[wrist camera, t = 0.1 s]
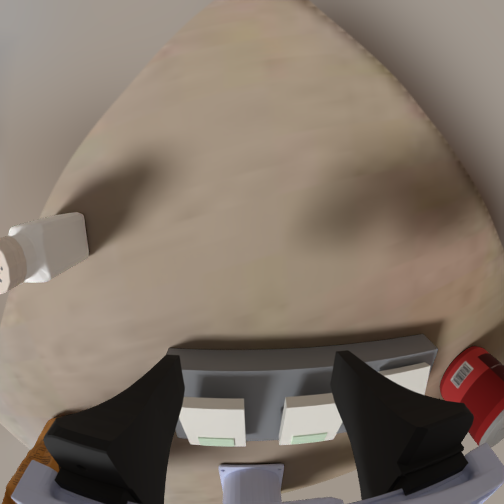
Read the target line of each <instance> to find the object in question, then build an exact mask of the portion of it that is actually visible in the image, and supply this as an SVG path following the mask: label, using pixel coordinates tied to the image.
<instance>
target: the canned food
mask: <svg viewBox="0 0 504 504" xmlns="http://www.w3.org/2000/svg"><path fill="white" fill-rule="evenodd" d="M440 392H441V395H442V397H443V399H444V400H445V401H452V402H459V403H464V404H465V405H466V407H467V408H468V409H469V410H470V411H471V413H472V414H473V416H474V420H473V424H472V426H471V428H470V430H469V431H468V432H469V433H470V435H471V436H472V438H473V439H474V440H475V442H476V443H477V444H478V446H481V445H482V444H484V443H488V445H489V446H490V447H493V446H494V445H496V444H497V443H498V442H500V441H501V440H502V439H503V438H504V365H502V364H501V363H500V362H499V361H498V360H497V359H496V358H494V357H493V356H492V355H491V354H490V353H488V352H487V351H486V350H485V349H483V348H481V347H478V346H473V347H470V348H468V349H466V350H465V351H463V352H462V353H461V354H459V355H458V356H457V357H456V358H455V359H454V360H453V362H452V363H451V364H450V365H449V367H448V368H447V370H446V372H445V373H444V375H443V378H442V380H441V384H440Z"/></svg>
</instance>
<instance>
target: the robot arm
mask: <svg viewBox="0 0 504 504" xmlns="http://www.w3.org/2000/svg"><path fill="white" fill-rule="evenodd" d="M330 386H331V390H332V395H333V398H334V402H335V405H336V407H337V409H338V412H339V414H340V417H341V419H342V422H343V424H344V427H345V429H346V431H347V434H348V437H349V439H350V442H351V446H352V450H353V454H354V458H355V463H356V467H357V472H358V478H359V484H360V490H361V497H362V500H361V501H357V502H353V503H349V504H483V502H485V501H486V500H487V499H488V498H489V497H490V496H491V495H492V494H493V493H494V492H495V491H496V490H497V489H498V488H499V487H500V486H501V485H502V484H503V483H504V465H503V464H502V463H501V461H500V460H499V459H498V457H497V456H496V454H495V453H494V452H493V450H492V449H491V447H490V446H489V445H488V443H484V444H482V445H481V446H479V447H477V448H475V449H473V450H472V451H470V452H469V453H468V454H466V455H465V456H464V455H463V454H462V451H463V450H464V447H463V446H462V444H461V442H462V441H463V439H464V437H465V436H466V434H467V433H468V431H469V430H470V428H471V426H472V424H473V420H474V416H473V414H472V413H471V411H470V410H469V409H468V408H467V407H466V405H465V404H464V403H459V402H452V401H445V400H440V399H436V398H432V397H429V396H425V395H423V394H420V393H417V392H414V391H412V390H409V389H407V388H405V387H403V386H401V385H399V384H397V383H395V382H393V381H391V380H390V379H388V378H387V377H385V376H383V375H382V374H380V373H379V372H377V371H376V370H374V369H373V368H371V367H370V366H369V365H367V364H366V363H365V362H363V361H362V360H361V359H359V358H358V357H357V356H355V355H354V354H353V353H351V352H350V351H348V350H345V351H336V353H335V359H334V365H333V371H332V377H331V382H330ZM184 392H185V385H184V380H183V374H182V368H181V362H180V356H179V355H168V354H167V355H166V356H165V357H163V358H162V359H161V360H160V361H159V362H158V363H157V364H156V365H155V366H154V367H153V368H152V369H151V370H149V371H148V372H147V373H146V374H145V375H144V376H143V377H142V378H140V379H139V380H138V381H137V382H135V383H134V384H133V385H131V386H130V387H129V388H127V389H126V390H125V391H123V392H121V393H120V394H118V395H117V396H115V397H113V398H111V399H109V400H107V401H105V402H103V403H101V404H99V405H97V406H95V407H92V408H90V409H87V410H84V411H81V412H78V413H75V414H71V415H67V416H62V417H57V418H56V419H55V421H54V422H53V424H52V425H51V427H50V428H49V430H48V431H47V433H46V434H45V436H44V439H43V441H44V444H45V447H46V448H47V450H48V452H49V453H50V454H51V456H52V457H53V458H54V460H55V461H56V462H57V464H58V465H59V466H60V467H61V468H60V470H59V472H58V473H57V472H56V471H55V470H54V469H52V468H50V467H48V466H46V465H43V464H41V463H39V462H37V461H35V460H31V462H30V464H29V465H28V467H27V469H26V471H25V472H24V474H23V476H22V477H21V479H20V481H19V483H18V485H17V486H16V488H15V490H14V492H13V494H12V495H11V498H12V499H13V500H14V501H15V502H16V503H17V504H164V493H165V481H166V473H167V465H168V458H169V452H170V446H171V442H172V439H173V435H174V432H175V429H176V425H177V422H178V419H179V415H180V412H181V409H182V405H183V399H184ZM283 471H284V464H263V465H219V473H220V478H221V484H222V489H223V504H344V503H343V500H341V499H337V498H333V497H324V498H314V499H306V500H298V501H288V502H282V500H281V491H280V490H281V484H282V478H283Z"/></svg>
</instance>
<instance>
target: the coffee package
mask: <svg viewBox="0 0 504 504" xmlns="http://www.w3.org/2000/svg"><path fill="white" fill-rule="evenodd" d="M56 418H57V417H56ZM56 418H52V419H50V420H49V421H48V422H47V423H46V425H45V427H44V429H43V431H42V432H41V434H40V436H39V437H38V440H37V442H36V444H35V446H34V447H33V449H31V450H30V451H29V452H28V454H27V456H26V458H25V459H24V460H23V461H22V463H21V464H20V466H19V468H18V469H17V471H16V473H15V474H14V476H13V477H12V478H11V480H10V481H9V483H8V484H7V487H6V492H5V497H4V499H3V502H2V504H17V503H16V502H15V501H14V500H13V499H12V498H11V495H12V494H13V492H14V490H15V488H16V486H17V485H18V483H19V481H20V479H21V477H22V476H23V474H24V472H25V471H26V469H27V467H28V465H29V464H30V462H31V460H35V461H37V462H39V463H41V464H43V465H46V466H48V467H50V468H52V469H54V470H55V471H56V472H57V473H58V472H59V470H60V468H61V467H60V466H59V465H58V464H57V462H56V461H55V460H54V458H53V457H52V456H51V454H50V453H49V452H48V450H47V448H46V447H45V444H44V441H43V439H44V436H45V434H46V433H47V431H48V430H49V428H50V427H51V425H52V424H53V422H54V421H55V419H56Z"/></svg>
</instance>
